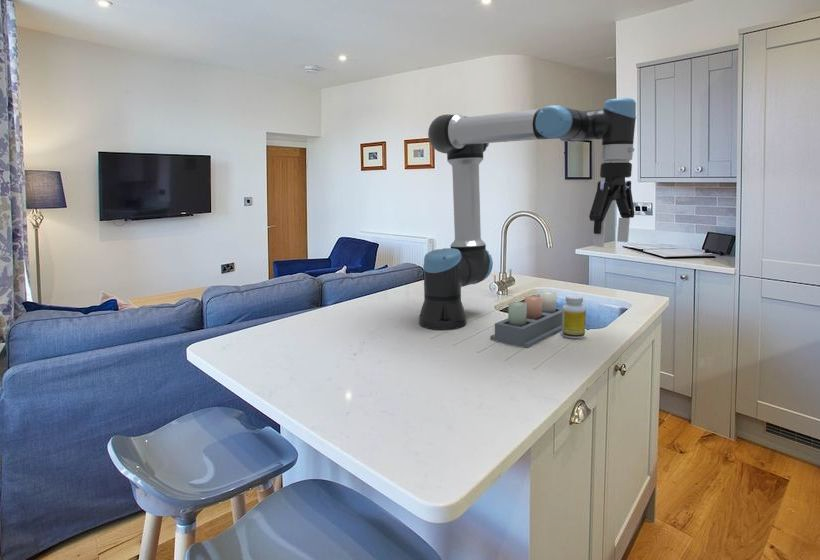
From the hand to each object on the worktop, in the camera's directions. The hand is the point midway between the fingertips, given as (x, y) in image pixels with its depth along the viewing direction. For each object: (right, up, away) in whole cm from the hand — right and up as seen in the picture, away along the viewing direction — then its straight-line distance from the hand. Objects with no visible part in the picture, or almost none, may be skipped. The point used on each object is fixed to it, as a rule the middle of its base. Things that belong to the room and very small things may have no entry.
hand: (610, 244), depth 134 cm
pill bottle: (-6, -26, +12) cm, 29 cm away
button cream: (-11, -19, +22) cm, 31 cm away
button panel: (-17, -25, +16) cm, 34 cm away
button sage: (-23, -22, +9) cm, 33 cm away
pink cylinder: (-17, -21, +15) cm, 31 cm away
